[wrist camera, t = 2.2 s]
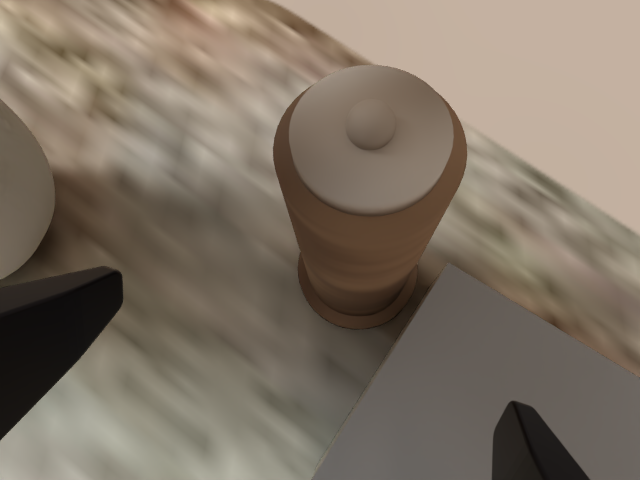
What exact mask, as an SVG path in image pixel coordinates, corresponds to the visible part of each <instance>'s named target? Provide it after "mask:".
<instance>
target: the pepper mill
mask: <svg viewBox="0 0 640 480" xmlns="http://www.w3.org/2000/svg"><path fill="white" fill-rule="evenodd" d="M273 158H274V165H275V170H276V174H277V177H278V180H279V183H280V187H281V190H282V193H283V196H284V199H285V203H286V206H287V209H288V212H289V216H290V219H291V222H292V225H293V229H294V232H295V235H296V238H297V242H298V245H299V248H300V251H301V252H300V256H299V261H298V276H299V282H300V285H301V288H302V291H303V293H304V295H305V297H306V299H307V301H308V303H309V304H310V306H311V307H312V308H313V309H314V310H315V311H316V312H317V313H318V314H319V315H320V316H321V317H322V318H324V319H325V320H327V321H328V322H331V323H333V324H335V325H337V326H340V327H344V328H349V329H368V328H372V327H376V326H379V325H382V324H384V323H386V322H387V321H389V320H391V319H392V318H393V317H395V316H396V315H397V314H398V313H399V312H400V311H401V310H402V309H403V308H404V306H405V305H406V304H407V302H408V300H409V299H410V297H411V295H412V293H413V291H414V289H415V285H416V281H417V274H418V273H417V263H418V261H419V259H420V257H421V255H422V253H423V251H424V250H425V248H426V246H427V244H428V242H429V240H430V239H431V237H432V235H433V233H434V231H435V229H436V228H437V226H438V224H439V222H440V220H441V218H442V217H443V215H444V213H445V211H446V209H447V207H448V206H449V204H450V202H451V200H452V198H453V196H454V195H455V193H456V191H457V189H458V187H459V185H460V183H461V180H462V178H463V175H464V171H465V167H466V160H467V144H466V139H465V134H464V131H463V128H462V125H461V123H460V121H459V119H458V117H457V115H456V113H455V112H454V110H453V109H452V108H451V107H450V105H449V104H448V103H447V102H446V101H445V100H444V98H442V96H440V95H439V94H438V93H437V92H436V91H435V90H434V89H433V88H432V87H430V86H429V85H428V84H427V83H426V82H424V81H423V80H421V79H419V78H418V77H416V76H414V75H412V74H410V73H408V72H406V71H403V70H400V69H397V68H392V67H388V66H380V65H362V66H354V67H349V68H345V69H342V70H339V71H336V72H334V73H332V74H329V75H328V76H326V77H324V78H322V79H321V80H319V81H318V82H317V83H315V84H314V85H312V86H310V87H309V88H308V89H306V90H305V91H304V92H302V93H301V94H300V95H299V96H298V97H297V98H296V99H295V100H294V101H293V102H292V104H291V105H290V106H289V107H288V108H287V110H286V112H285V113H284V115H283V117H282V118H281V121H280V123H279V125H278V127H277V131H276V135H275V138H274V146H273Z"/></svg>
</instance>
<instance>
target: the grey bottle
mask: <svg viewBox="0 0 640 480" xmlns="http://www.w3.org/2000/svg"><path fill="white" fill-rule="evenodd" d="M54 208H55V186H54V180H53V175H52V172H51V169H50V166H49V163H48V160H47V158H46V156H45V154H44V152H43V150H42V148H41V146H40V145H39V143H38V141H37V140H36V138H35V137H34V135H33V134H32V133H31V131H30V130H29V129H28V127H27V126H26V125H25V124H24V123H23V121H22V120H21V119H20V118H19V117H18V116H17V115H16V114H15V113H14V112H13V111H12V110H11V109H10V108H9V107H8V106H7V105H6V104H5V103H4V102H3V101H2V100H1V99H0V279H3V278H5V277H7V276H8V275H10V274H11V273H13V272H14V271H16V270H18V269H19V268H20V267H21V266H22V265H23V264H24V263H25V262H26V261H27V260H28V259H29V258H30V257H31V256H32V255H33V253H34V252H35V251H36V249H37V247H38V246H39V244H40V242H41V241H42V239H43V237H44V235H45V234H46V232H47V230H48V228H49V226H50V223H51V220H52V217H53V213H54Z"/></svg>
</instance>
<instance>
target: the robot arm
mask: <svg viewBox="0 0 640 480" xmlns="http://www.w3.org/2000/svg"><path fill="white" fill-rule="evenodd" d="M122 302H123V281H122V274H121V272H120V271H118V270H116V269H113V268H110V267H106V266H101V267H96V268H92V269H87V270H82V271H77V272H73V273H68V274H63V275H59V276H54V277H49V278H45V279H40V280H35V281H31V282H26V283H21V284H17V285H12V286H7V287H3V288H0V440H1V439H2V438H3V437H4V436H5V435H6V434H7V433H8V432H9V431H10V430H11V429H12V428H13V427H14V426H15V425H16V424H17V423H18V422H19V421H20V420H21V419H22V418H23V417H24V416H25V415H26V414H27V413H28V412H29V410H30V409H31V408H32V407H33V406H34V405H35V404H36V403H37V402H38V401H39V400H40V399H41V398H42V397H43V396H44V395H45V394H46V393H47V392H48V391H49V390H50V389H51V388H52V387H53V386H54V385H55V384H56V383H57V382H58V381H59V380H60V379H61V378H62V377H63V376H64V375H65V374H66V373H67V372H68V371H69V369H70V368H71V367H72V366H73V365H74V364H75V363H76V362H77V361H78V360H79V359H80V358H81V356H82V355H83V354H84V353H85V352H86V351H87V349H88V348H89V347H90V346H91V344H92V343H93V342H94V341H95V339H96V338H97V337H98V336H99V334H100V333H101V332H102V331H103V329H104V328H105V327H106V326H107V324H108V323H109V322H110V321H111V319H112V318H113V317H114V316H115V314H116V313H117V312H118V311H119V309H120V307H121V305H122ZM492 480H590V478H589V477H588V476H587V475H586V473H585V472H584V471H583V470H582V468H581V467H580V466H579V464H578V463H577V462H576V461H575V459H574V458H573V457H572V456H571V454H570V453H569V452H568V450H567V449H566V448H565V447H564V445H563V444H562V443H561V442H560V440H559V439H558V438H557V436H556V435H555V434H554V433H553V431H552V430H551V429H550V428H549V426H548V425H547V424H546V422H545V421H544V420H543V419H542V417H541V416H540V415H539V414H538V412H537V411H536V410H535V409H534V408H533V407H532V406H530V405H527V404H524V403H521V402H518V401H515V400H513V401H510V402H509V403H508V405H507V406H506V408H505V410H504V412H503V414H502V416H501V417H500V419H499V421H498V423H497V425H496V427H495V430H494V434H493V450H492Z"/></svg>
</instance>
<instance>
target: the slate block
mask: <svg viewBox="0 0 640 480" xmlns="http://www.w3.org/2000/svg"><path fill="white" fill-rule="evenodd" d="M513 400H515V401H518V402H521V403H524V404H527V405H530V406H532V407H533V408H534V409H535V410H536V411H537V412H538V414H539V415H540V416H541V417H542V419H543V420H544V421H545V422H546V424H547V425H548V426H549V428H550V429H551V430H552V431H553V433H554V434H555V435H556V436H557V438H558V439H559V440H560V442H561V443H562V444H563V445H564V447H565V448H566V449H567V450H568V452H569V453H570V454H571V456H572V457H573V458H574V459H575V461H576V462H577V463H578V464H579V466H580V467H581V468H582V470H583V471H584V472H585V473H586V475H587V476H588V477H589V478H590V480H640V378H639V377H638V376H636V375H634V374H633V373H631V372H629V371H628V370H626V369H624V368H623V367H621V366H619V365H618V364H616V363H614V362H613V361H611V360H609V359H608V358H606V357H604V356H603V355H601V354H600V353H598V352H596V351H595V350H593V349H591V348H590V347H588V346H586V345H585V344H583V343H581V342H580V341H578V340H576V339H575V338H573V337H571V336H570V335H568V334H566V333H565V332H563V331H561V330H560V329H558V328H556V327H555V326H553V325H552V324H550V323H548V322H547V321H545V320H543V319H542V318H540V317H538V316H537V315H535V314H533V313H532V312H530V311H528V310H527V309H525V308H523V307H522V306H520V305H518V304H517V303H515V302H513V301H512V300H510V299H508V298H507V297H505V296H504V295H502V294H500V293H499V292H497V291H495V290H494V289H492V288H490V287H489V286H487V285H485V284H484V283H482V282H480V281H479V280H477V279H475V278H474V277H472V276H470V275H469V274H467V273H465V272H464V271H462V270H460V269H459V268H457V267H456V266H454V265H452V264H451V263H449V262H448V264H447V265H446V266H445V267H444V269H443V270H442V271H441V273H440V274H439V275H438V276H437V278H436V279H435V280H434V282H433V283H432V284H431V286H430V287H429V289H428V290H427V292H426V293H425V295H424V297H423V298H422V300H421V301H420V303H419V305H418V306H417V308H416V309H415V311H414V312H413V314H412V316H411V317H410V319H409V320H408V322H407V324H406V325H405V327H404V328H403V330H402V331H401V333H400V335H399V336H398V338H397V339H396V341H395V342H394V344H393V346H392V347H391V349H390V350H389V352H388V354H387V355H386V357H385V358H384V360H383V361H382V363H381V365H380V366H379V368H378V369H377V371H376V373H375V374H374V376H373V377H372V379H371V380H370V382H369V384H368V385H367V387H366V388H365V390H364V392H363V393H362V395H361V396H360V398H359V399H358V401H357V403H356V404H355V406H354V407H353V409H352V411H351V412H350V414H349V415H348V417H347V418H346V420H345V422H344V423H343V425H342V426H341V428H340V430H339V431H338V433H337V434H336V436H335V437H334V439H333V441H332V442H331V444H330V445H329V447H328V448H327V450H326V452H325V453H324V455H323V456H322V458H321V460H320V461H319V463H318V464H317V467H316V469H315V472H314V474H313V477H312V479H311V480H492V450H493V434H494V430H495V427H496V425H497V423H498V421H499V419H500V417H501V416H502V414H503V412H504V410H505V408H506V406H507V405H508V403H509V402H510V401H513Z"/></svg>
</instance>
